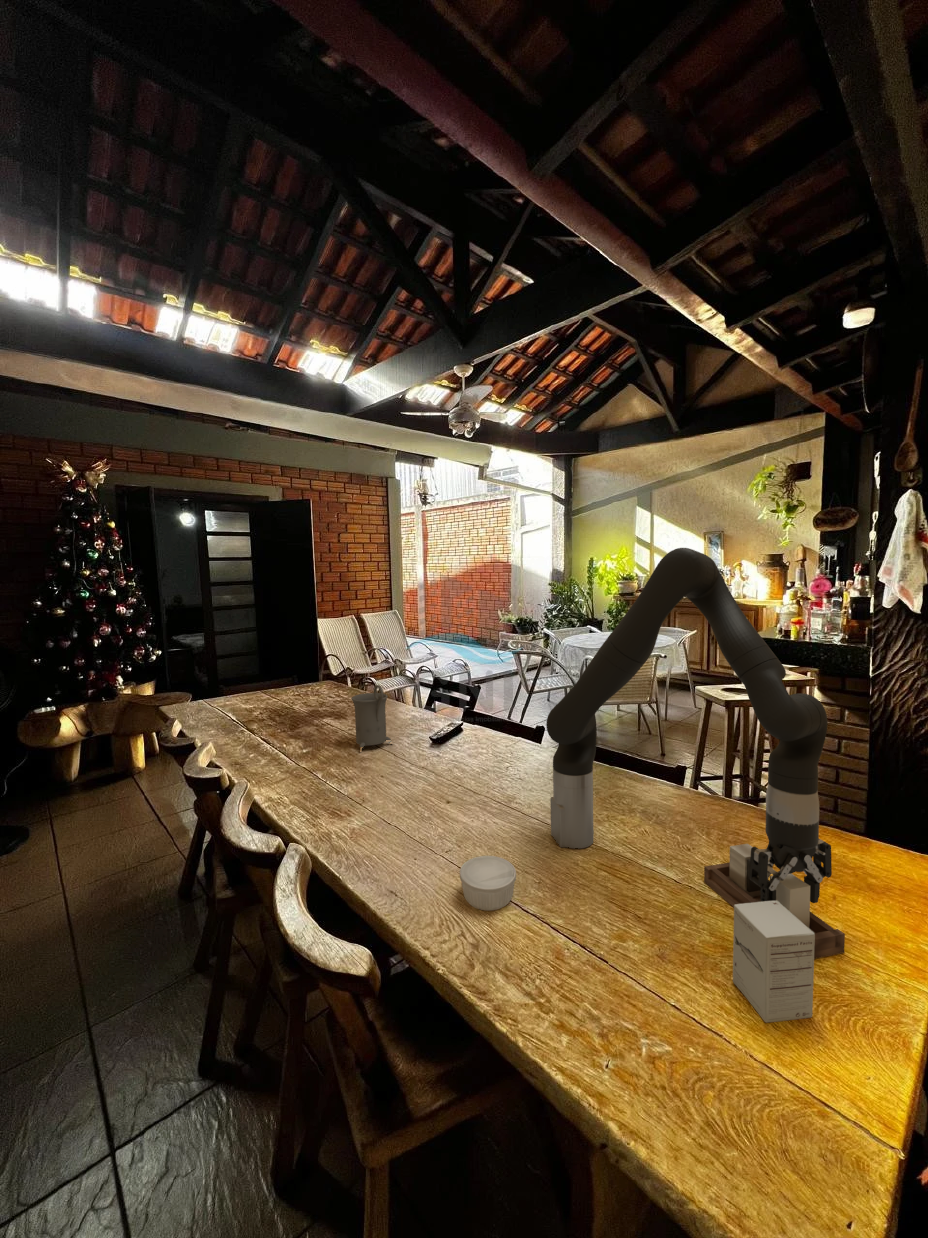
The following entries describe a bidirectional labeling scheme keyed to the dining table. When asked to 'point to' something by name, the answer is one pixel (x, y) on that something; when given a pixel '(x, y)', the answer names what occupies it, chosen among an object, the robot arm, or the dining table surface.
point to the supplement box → (773, 960)
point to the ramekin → (488, 882)
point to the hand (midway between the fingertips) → (790, 904)
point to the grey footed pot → (370, 717)
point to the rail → (740, 889)
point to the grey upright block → (795, 897)
